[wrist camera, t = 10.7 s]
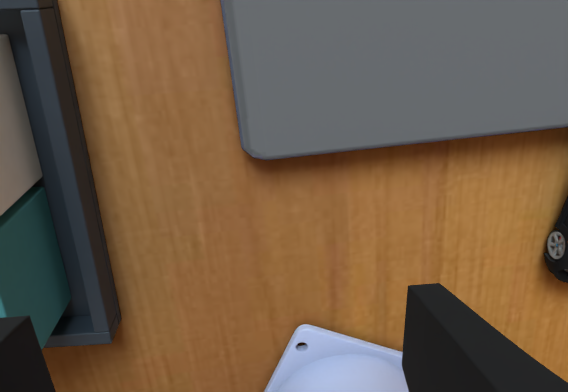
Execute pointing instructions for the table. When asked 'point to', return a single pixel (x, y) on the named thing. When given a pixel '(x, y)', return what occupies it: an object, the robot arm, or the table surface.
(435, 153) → the table surface
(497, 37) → the smartphone
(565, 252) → the toy car
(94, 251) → the frame
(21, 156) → the cream block
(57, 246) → the teal block
